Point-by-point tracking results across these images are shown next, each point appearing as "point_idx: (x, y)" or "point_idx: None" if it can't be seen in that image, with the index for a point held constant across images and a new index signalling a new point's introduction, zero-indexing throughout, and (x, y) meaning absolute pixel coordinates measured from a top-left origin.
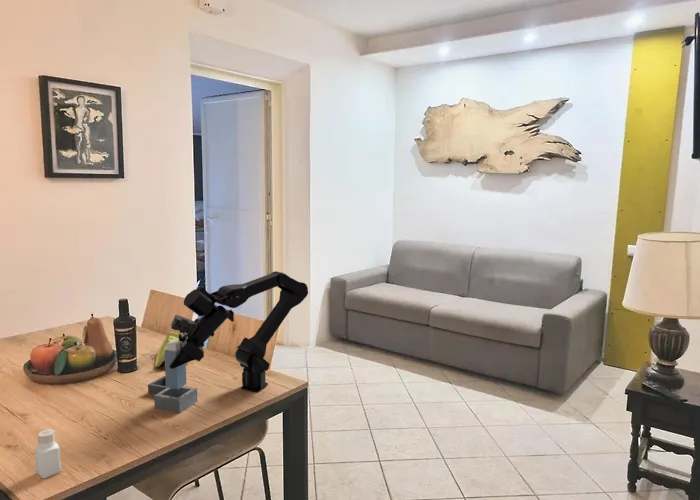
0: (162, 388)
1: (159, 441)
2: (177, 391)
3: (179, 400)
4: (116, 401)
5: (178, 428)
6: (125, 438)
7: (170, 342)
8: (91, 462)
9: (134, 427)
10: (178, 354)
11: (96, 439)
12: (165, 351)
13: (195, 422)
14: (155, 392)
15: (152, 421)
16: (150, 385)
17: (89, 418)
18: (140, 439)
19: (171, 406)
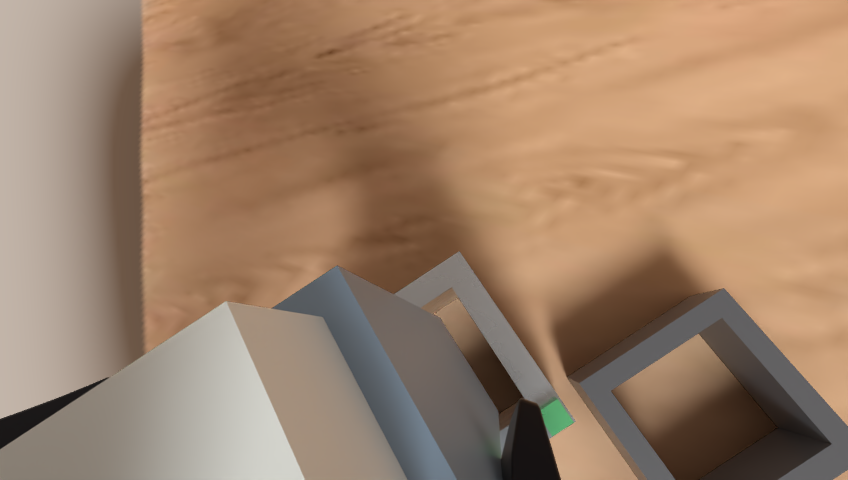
0: (618, 356)
1: (180, 198)
2: (507, 419)
3: None
4: (674, 133)
5: (216, 290)
6: (282, 106)
7: (216, 447)
8: (213, 6)
9: (342, 148)
10: (13, 421)
11: (341, 27)
12: (320, 283)
13: None
14: (652, 324)
15: (345, 220)
16: (705, 301)
17: (538, 18)
18: (239, 147)
19: None
